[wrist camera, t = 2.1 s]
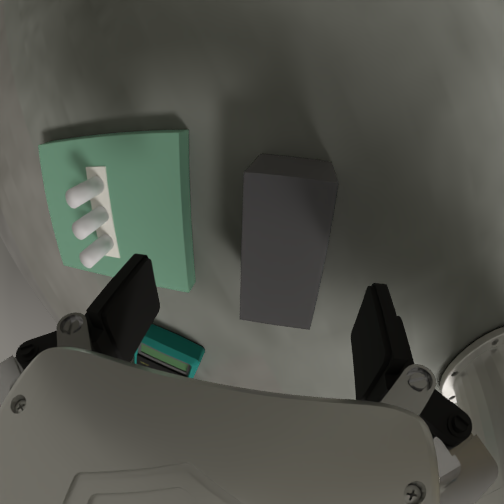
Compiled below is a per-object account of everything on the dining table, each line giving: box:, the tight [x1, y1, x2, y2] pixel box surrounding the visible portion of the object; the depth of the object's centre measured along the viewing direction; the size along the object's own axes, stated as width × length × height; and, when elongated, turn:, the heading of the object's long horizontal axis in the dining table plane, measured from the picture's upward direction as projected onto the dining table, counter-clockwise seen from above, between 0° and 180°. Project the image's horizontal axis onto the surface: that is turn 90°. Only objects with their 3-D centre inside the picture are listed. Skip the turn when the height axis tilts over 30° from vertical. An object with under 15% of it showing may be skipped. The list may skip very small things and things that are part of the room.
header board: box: [38, 130, 196, 293], centre depth 19 cm, size 14×12×4 cm
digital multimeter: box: [134, 324, 205, 378], centre depth 30 cm, size 7×15×3 cm, turn 161°
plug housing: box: [240, 154, 338, 330], centre depth 17 cm, size 4×9×5 cm, turn 178°
